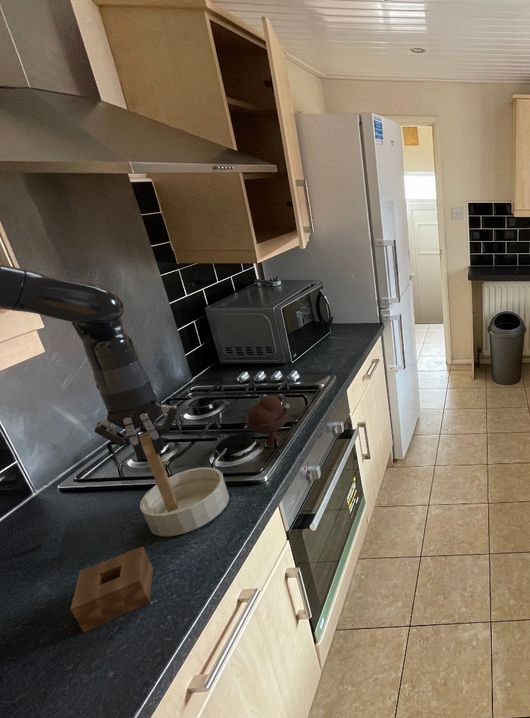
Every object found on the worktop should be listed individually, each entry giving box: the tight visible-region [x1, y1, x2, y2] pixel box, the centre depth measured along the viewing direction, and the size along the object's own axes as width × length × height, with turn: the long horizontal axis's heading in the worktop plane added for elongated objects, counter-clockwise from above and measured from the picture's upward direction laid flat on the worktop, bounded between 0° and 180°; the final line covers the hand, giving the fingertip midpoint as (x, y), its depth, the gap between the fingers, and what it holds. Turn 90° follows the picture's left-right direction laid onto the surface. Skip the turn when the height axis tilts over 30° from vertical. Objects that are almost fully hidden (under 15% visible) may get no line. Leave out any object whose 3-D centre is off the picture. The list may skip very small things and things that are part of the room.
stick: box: [138, 431, 178, 512], centre depth 91 cm, size 2×2×20 cm
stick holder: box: [70, 545, 154, 633], centre depth 77 cm, size 9×9×6 cm
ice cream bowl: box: [244, 395, 289, 446], centre depth 119 cm, size 11×11×15 cm
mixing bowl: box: [139, 467, 230, 537], centre depth 96 cm, size 15×15×6 cm
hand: (151, 454), depth 89 cm, fingers closed on stick, 2 cm apart
